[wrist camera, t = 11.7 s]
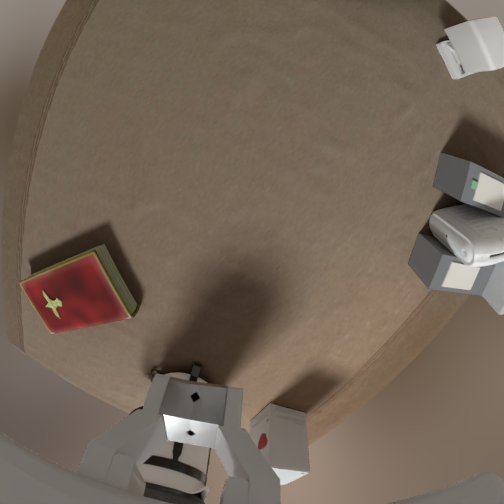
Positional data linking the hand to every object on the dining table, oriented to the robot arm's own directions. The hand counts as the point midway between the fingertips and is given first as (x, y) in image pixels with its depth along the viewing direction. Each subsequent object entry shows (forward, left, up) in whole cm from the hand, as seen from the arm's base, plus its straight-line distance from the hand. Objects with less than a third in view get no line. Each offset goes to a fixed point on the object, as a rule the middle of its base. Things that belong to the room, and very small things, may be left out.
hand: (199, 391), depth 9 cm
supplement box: (+46, +13, -29) cm, 56 cm away
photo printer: (-2, +31, -29) cm, 43 cm away
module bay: (-2, +31, -29) cm, 42 cm away
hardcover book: (+20, -26, -30) cm, 44 cm away
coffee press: (+39, -7, -29) cm, 49 cm away
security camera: (-26, +25, -29) cm, 46 cm away
